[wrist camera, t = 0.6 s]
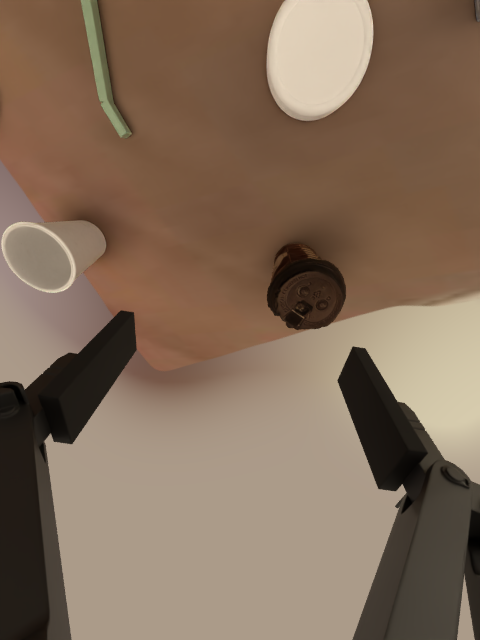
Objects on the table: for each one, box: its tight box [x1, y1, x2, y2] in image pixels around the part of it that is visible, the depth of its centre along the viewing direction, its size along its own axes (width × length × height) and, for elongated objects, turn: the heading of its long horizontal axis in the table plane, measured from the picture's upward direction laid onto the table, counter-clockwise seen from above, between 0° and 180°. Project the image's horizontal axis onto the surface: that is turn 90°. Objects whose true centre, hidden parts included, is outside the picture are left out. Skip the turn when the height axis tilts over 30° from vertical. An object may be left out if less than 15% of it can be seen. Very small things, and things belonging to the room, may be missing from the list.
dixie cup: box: [1, 220, 106, 293], centre depth 34 cm, size 8×8×10 cm
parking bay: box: [81, 0, 132, 139], centre depth 26 cm, size 21×18×3 cm
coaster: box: [267, 0, 373, 121], centre depth 26 cm, size 10×10×4 cm
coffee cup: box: [267, 243, 346, 330], centre depth 33 cm, size 9×8×13 cm
